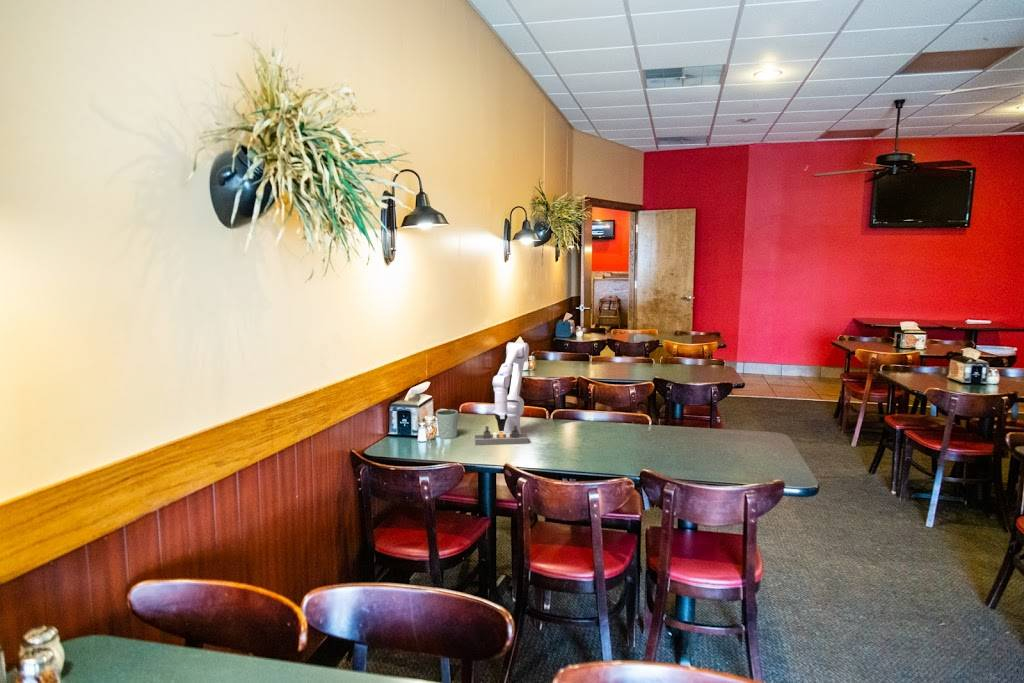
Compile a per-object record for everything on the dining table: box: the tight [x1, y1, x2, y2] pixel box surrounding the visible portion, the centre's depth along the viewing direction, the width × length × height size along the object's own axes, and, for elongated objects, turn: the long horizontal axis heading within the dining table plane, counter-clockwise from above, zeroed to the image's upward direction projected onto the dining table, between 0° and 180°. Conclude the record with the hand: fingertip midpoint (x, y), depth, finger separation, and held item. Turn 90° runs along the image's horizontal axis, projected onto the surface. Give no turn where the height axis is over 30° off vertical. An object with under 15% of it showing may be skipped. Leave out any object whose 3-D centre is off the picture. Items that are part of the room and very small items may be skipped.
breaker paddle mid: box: [498, 431, 504, 438], centre depth 281 cm, size 2×2×2 cm
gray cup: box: [435, 409, 459, 440], centre depth 290 cm, size 10×10×12 cm
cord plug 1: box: [483, 425, 492, 438], centre depth 280 cm, size 3×3×5 cm
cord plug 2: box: [512, 425, 519, 437], centre depth 281 cm, size 3×3×5 cm
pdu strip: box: [474, 433, 529, 446], centre depth 281 cm, size 7×24×3 cm, turn 95°
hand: (501, 430), depth 281 cm, fingers closed
